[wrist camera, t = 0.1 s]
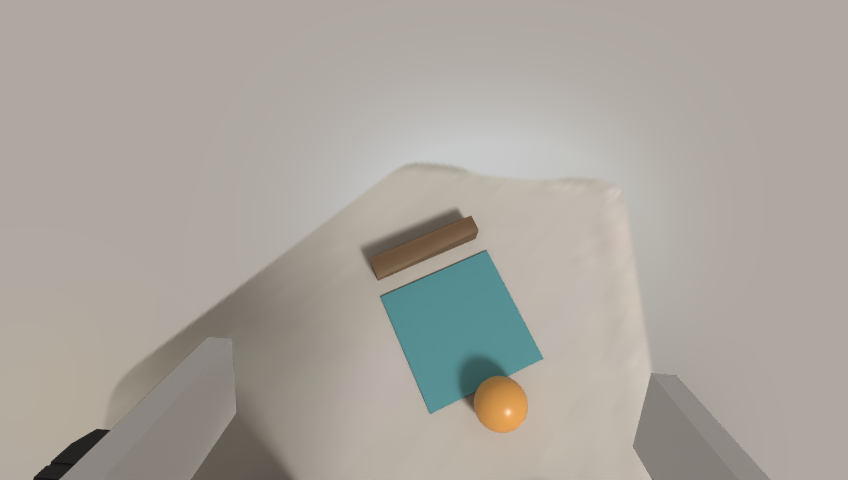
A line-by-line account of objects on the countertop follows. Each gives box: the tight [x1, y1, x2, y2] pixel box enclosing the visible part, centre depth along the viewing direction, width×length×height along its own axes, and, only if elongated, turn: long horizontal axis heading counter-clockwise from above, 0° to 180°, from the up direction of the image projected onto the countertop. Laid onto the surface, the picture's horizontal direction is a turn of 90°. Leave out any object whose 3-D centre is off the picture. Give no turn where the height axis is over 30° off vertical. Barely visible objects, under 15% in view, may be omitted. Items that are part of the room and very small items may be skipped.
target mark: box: [381, 251, 543, 413], centre depth 50 cm, size 14×14×1 cm
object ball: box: [474, 376, 528, 433], centre depth 45 cm, size 6×6×6 cm
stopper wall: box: [369, 216, 478, 280], centre depth 51 cm, size 2×13×3 cm, turn 115°
